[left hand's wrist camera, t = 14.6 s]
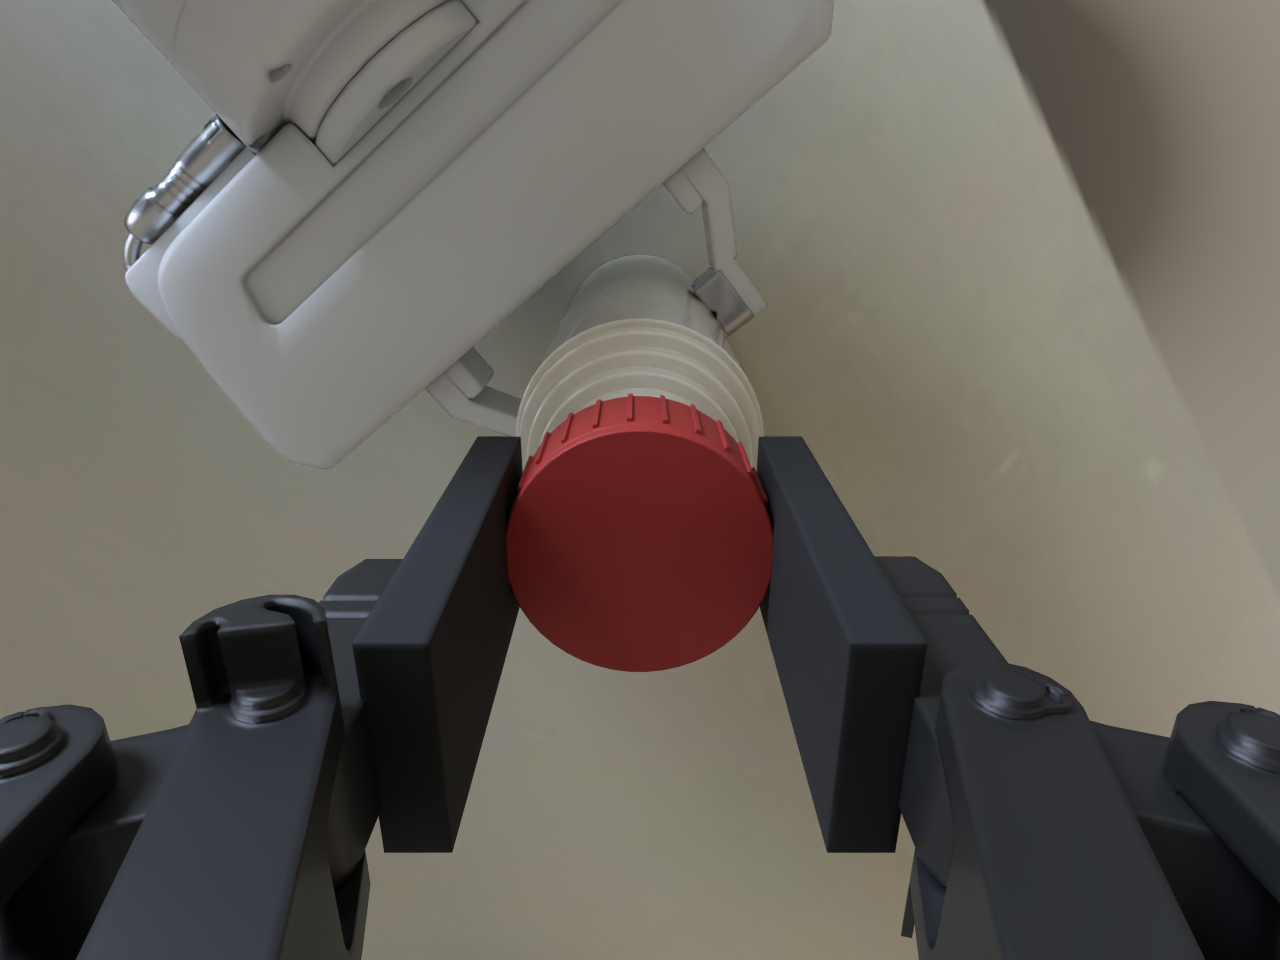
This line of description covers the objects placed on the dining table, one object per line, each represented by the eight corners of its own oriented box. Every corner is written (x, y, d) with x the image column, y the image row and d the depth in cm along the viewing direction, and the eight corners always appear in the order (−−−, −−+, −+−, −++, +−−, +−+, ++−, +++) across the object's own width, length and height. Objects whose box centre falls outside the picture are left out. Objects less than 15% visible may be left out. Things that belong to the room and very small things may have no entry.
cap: (469, 475, 14) (443, 520, 12) (678, 342, 13) (685, 369, 11) (605, 651, 15) (601, 716, 14) (803, 541, 14) (828, 594, 13)
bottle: (726, 270, 30) (852, 414, 12) (694, 410, 32) (763, 708, 14) (580, 241, 29) (490, 345, 12) (557, 385, 31) (451, 658, 14)
